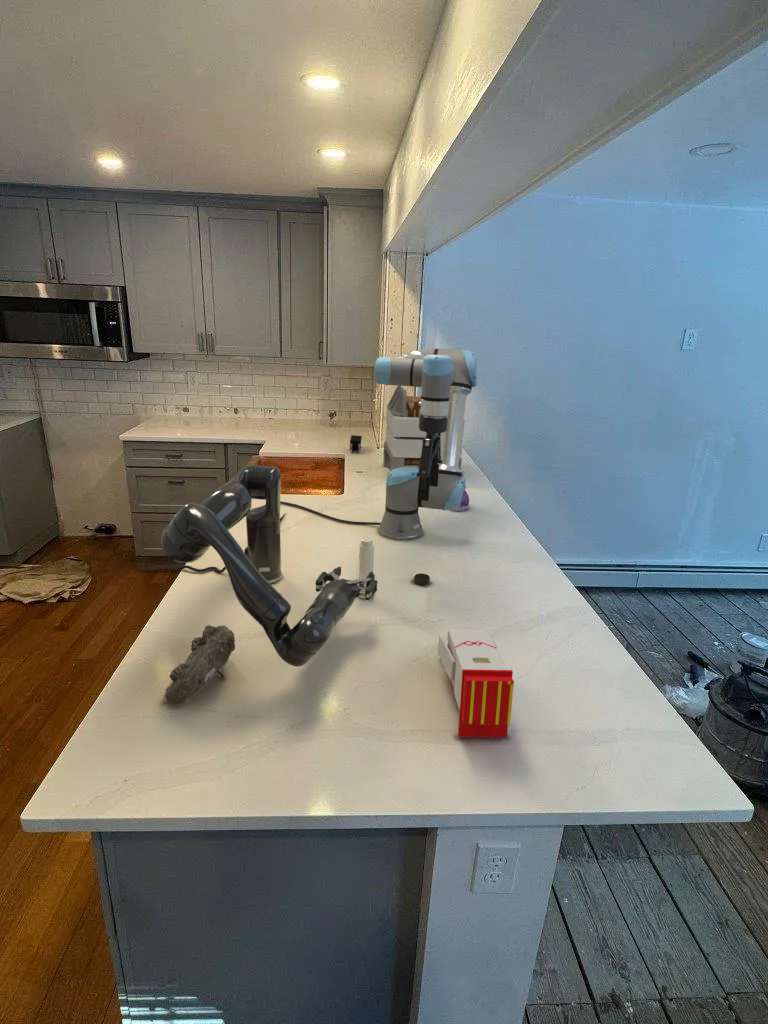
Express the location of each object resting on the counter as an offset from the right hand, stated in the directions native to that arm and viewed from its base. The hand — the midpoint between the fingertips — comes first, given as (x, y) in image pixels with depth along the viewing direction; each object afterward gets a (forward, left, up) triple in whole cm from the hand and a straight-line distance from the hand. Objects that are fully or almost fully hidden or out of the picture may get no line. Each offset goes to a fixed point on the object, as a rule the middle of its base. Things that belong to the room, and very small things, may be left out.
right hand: (428, 492), depth 156 cm
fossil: (+5, -68, -27) cm, 74 cm away
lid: (0, 0, -26) cm, 26 cm away
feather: (-68, -5, -27) cm, 74 cm away
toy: (+43, -28, -27) cm, 58 cm away
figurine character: (-135, +81, -27) cm, 160 cm away
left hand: (+3, -27, -16) cm, 31 cm away
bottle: (-3, -19, -27) cm, 33 cm away
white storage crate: (-84, +80, -27) cm, 119 cm away
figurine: (-38, +58, -27) cm, 74 cm away
